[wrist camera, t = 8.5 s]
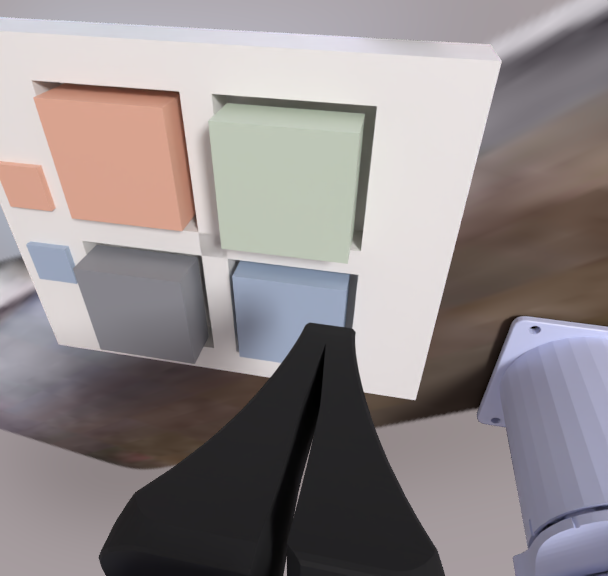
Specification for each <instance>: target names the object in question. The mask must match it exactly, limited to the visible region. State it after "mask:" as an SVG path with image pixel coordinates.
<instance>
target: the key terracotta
mask: <svg viewBox="0 0 608 576" xmlns="http://www.w3.org/2000/svg"><path fill="white" fill-rule="evenodd" d="M33 99H34V102H35V105H36V108H37V111H38V114H39V118H40V121H41V124H42V127H43V130H44V133H45V136H46V139H47V143H48V146H49V149H50V152H51V155H52V158H53V161H54V164H55V168H56V171H57V174H58V177H59V180H60V183H61V186H62V189H63V193H64V196H65V199H66V202H67V205H68V208H69V211H70V214H71V217H72V219H81V220H90V221H98V222H107V223H115V224H124V225H132V226H141V227H150V228H158V229H167V230H175V231H183V230H184V228H185V227H186V226H187V224H188V223H189V222H190V221H191V219H192V218H193V217H194V215H195V214H196V210H195V203H194V196H193V188H192V181H191V174H190V166H189V159H188V152H187V144H186V137H185V130H184V122H183V115H182V108H181V100H180V93H179V92H175V91H161V90H148V89H135V88H122V87H108V86H95V85H82V84H68V83H64V84H62V85H60V86H58V87H55V88H53V89H51V90H49V91H46V92H44V93H42V94H40V95H37V96H35V97H33Z"/></svg>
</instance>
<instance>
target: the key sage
mask: <svg viewBox="0 0 608 576" xmlns="http://www.w3.org/2000/svg"><path fill="white" fill-rule="evenodd" d="M364 118H365V114H361V113H348V112H336V111H323V110H310V109H297V108H284V107H271V106H258V105H245V104H232V103H227V104H225V105H224V106H223V107H222V108H221V109H220V110H219V111H218V112H217V113H216V114H215V115H214V116H213V117H212V118H211V119H210V120H208V124H209V134H210V144H211V153H212V163H213V172H214V182H215V191H216V201H217V211H218V220H219V230H220V239H221V249H228V250H237V251H245V252H253V253H262V254H270V255H278V256H287V257H295V258H303V259H311V260H320V261H328V262H336V263H345V264H348V260H349V255H350V250H351V245H352V239H353V232H354V222H355V211H356V201H357V191H358V180H359V170H360V159H361V149H362V139H363V128H364Z"/></svg>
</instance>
